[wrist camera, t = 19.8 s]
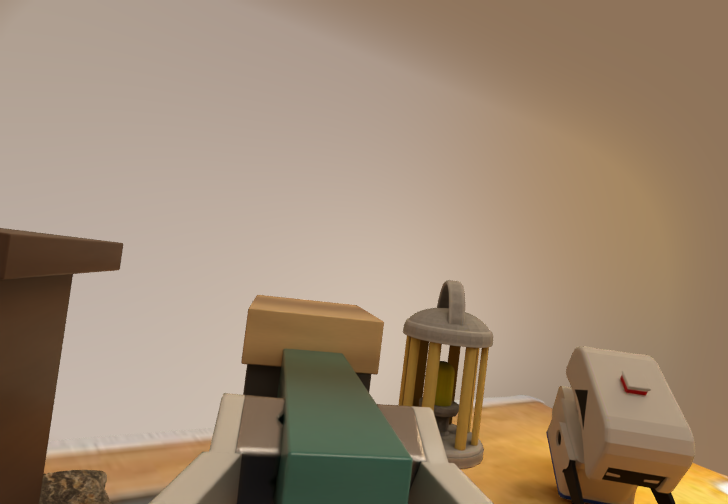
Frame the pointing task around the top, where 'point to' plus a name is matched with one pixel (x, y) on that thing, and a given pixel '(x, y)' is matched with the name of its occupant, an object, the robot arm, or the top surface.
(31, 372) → the stand
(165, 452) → the top surface
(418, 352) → the lantern
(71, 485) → the stone
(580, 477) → the robotic device
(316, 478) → the brush
